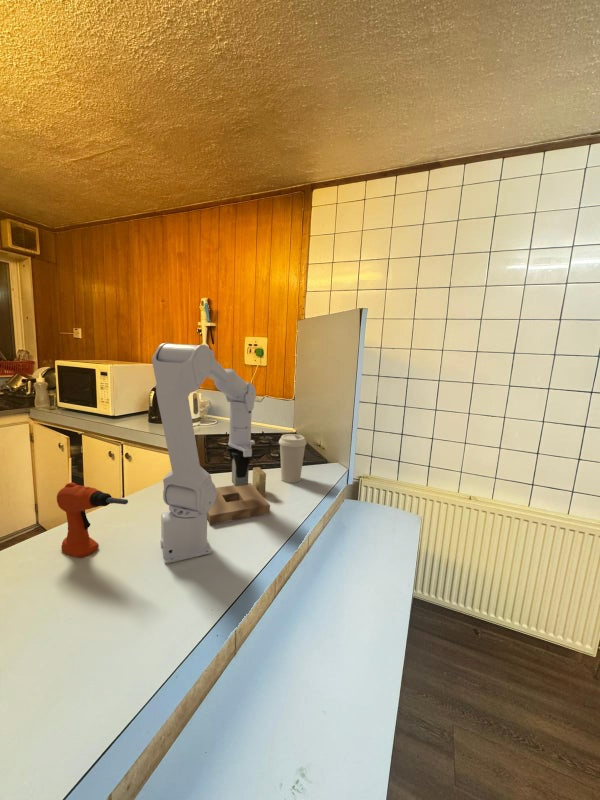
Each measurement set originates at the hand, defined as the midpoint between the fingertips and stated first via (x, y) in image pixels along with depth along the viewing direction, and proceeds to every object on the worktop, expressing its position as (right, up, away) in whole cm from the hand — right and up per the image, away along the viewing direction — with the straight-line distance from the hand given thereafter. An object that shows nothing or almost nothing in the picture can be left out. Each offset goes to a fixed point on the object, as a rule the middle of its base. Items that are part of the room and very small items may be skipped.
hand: (239, 474), depth 92 cm
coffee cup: (+14, -7, +23) cm, 28 cm away
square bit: (0, -3, 0) cm, 3 cm away
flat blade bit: (+4, -8, +11) cm, 14 cm away
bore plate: (-2, -9, +1) cm, 10 cm away
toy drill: (-26, -12, -23) cm, 36 cm away
